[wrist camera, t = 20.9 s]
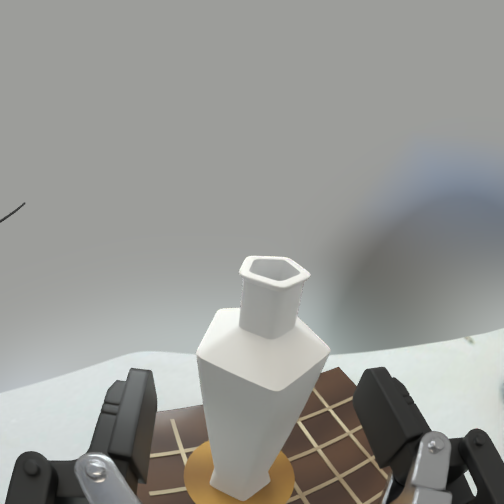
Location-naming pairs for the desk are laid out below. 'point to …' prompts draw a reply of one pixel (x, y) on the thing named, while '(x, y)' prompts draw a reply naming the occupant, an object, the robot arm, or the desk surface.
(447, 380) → the desk surface
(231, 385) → the perfume bottle
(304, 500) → the grid board
